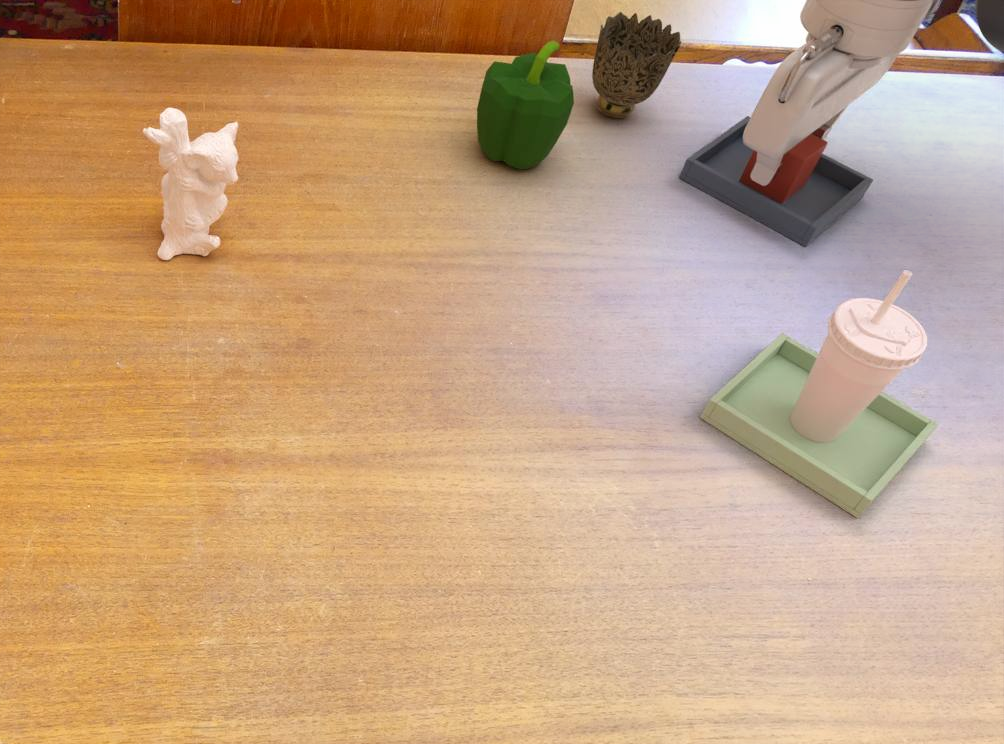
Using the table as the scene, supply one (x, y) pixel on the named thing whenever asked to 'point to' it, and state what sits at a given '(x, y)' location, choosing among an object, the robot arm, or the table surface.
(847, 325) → the smoothie
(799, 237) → the block tray
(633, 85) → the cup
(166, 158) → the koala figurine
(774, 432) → the tray
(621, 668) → the table surface
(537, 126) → the bell pepper
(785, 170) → the block
